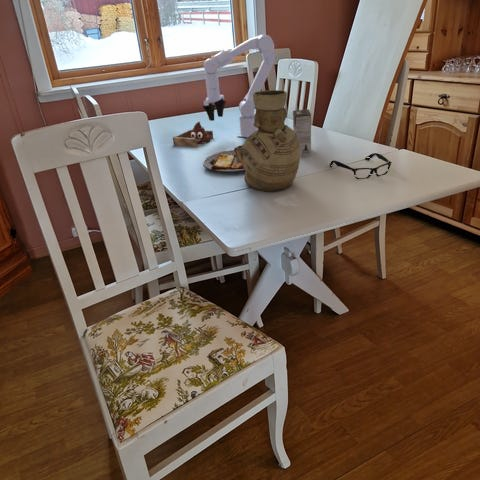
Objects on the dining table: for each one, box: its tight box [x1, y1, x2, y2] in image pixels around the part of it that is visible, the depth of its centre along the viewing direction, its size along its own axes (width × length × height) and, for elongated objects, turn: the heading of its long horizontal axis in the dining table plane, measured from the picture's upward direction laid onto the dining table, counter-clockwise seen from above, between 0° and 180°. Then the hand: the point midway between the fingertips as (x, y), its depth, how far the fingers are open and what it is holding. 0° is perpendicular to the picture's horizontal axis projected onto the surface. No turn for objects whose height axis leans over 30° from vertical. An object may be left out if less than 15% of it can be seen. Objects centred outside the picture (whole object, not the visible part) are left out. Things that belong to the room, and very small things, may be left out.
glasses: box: [329, 152, 393, 180], centre depth 145 cm, size 17×18×5 cm
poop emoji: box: [189, 121, 211, 144], centre depth 194 cm, size 10×8×9 cm
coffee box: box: [292, 109, 312, 157], centre depth 164 cm, size 9×6×16 cm
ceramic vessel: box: [233, 89, 301, 193], centre depth 133 cm, size 19×21×30 cm
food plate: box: [202, 149, 245, 173], centre depth 162 cm, size 25×23×4 cm
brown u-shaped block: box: [172, 129, 214, 148], centre depth 197 cm, size 13×15×4 cm
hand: (216, 118), depth 194 cm, fingers open, 7 cm apart
